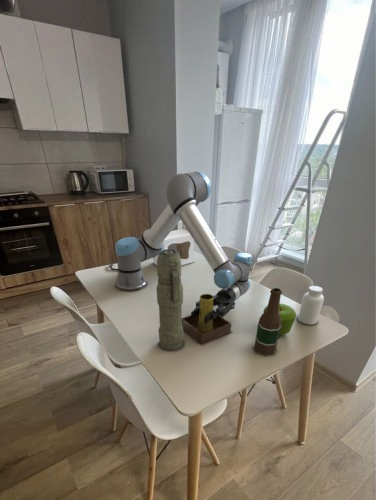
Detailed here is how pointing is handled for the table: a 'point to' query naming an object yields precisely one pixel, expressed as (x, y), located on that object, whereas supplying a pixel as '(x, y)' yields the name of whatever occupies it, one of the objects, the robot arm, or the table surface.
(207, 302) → the vase
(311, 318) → the pill bottle
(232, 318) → the table surface
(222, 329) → the tray
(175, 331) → the thermos
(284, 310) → the apple
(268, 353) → the beer bottle
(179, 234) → the gable box
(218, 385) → the table surface
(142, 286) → the robot arm
